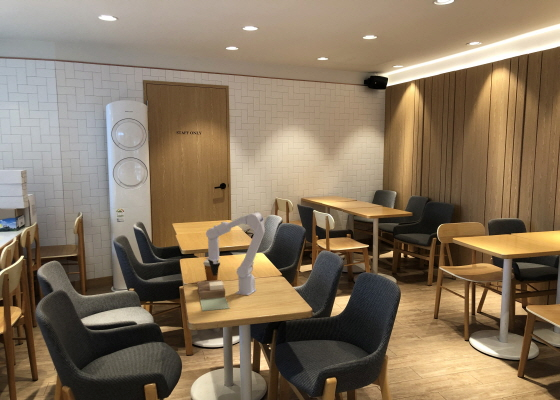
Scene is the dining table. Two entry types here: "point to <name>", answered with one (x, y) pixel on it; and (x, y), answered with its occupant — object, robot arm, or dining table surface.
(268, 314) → the dining table surface
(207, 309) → the mat
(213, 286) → the tile
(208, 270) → the disposable coffee cup
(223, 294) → the deck
